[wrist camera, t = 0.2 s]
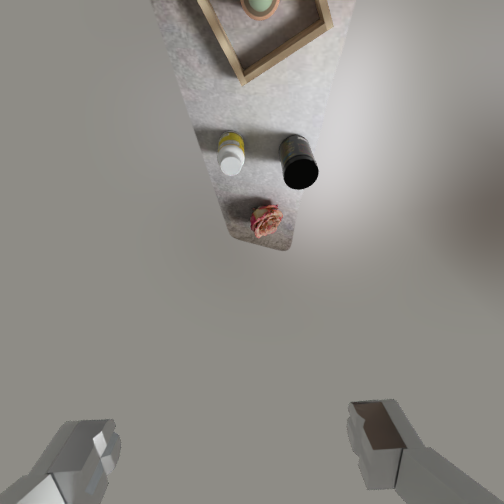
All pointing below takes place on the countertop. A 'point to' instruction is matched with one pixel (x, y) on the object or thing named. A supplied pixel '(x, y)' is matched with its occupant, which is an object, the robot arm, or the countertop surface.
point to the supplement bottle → (231, 153)
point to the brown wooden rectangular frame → (275, 55)
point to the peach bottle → (259, 8)
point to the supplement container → (297, 162)
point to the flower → (265, 220)
